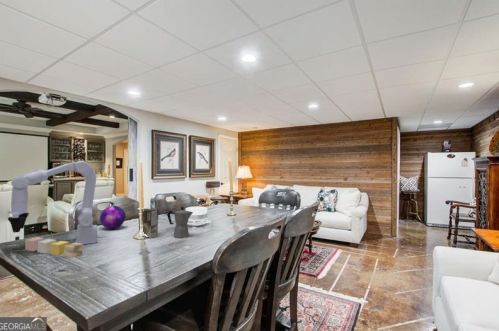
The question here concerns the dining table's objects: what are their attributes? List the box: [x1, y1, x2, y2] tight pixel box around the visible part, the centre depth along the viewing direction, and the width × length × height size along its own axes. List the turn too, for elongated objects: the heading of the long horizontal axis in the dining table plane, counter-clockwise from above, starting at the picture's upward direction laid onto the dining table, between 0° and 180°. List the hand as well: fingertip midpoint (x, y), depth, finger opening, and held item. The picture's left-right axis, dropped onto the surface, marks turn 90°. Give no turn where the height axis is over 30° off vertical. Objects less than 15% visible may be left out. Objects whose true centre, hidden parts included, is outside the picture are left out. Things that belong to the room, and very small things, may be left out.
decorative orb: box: [99, 205, 127, 230], centre depth 166 cm, size 15×15×15 cm
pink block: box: [24, 236, 45, 252], centre depth 122 cm, size 5×5×5 cm
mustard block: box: [49, 240, 70, 256], centre depth 118 cm, size 5×5×5 cm
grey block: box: [36, 238, 58, 254], centre depth 120 cm, size 5×5×5 cm
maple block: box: [63, 242, 84, 259], centre depth 116 cm, size 5×5×5 cm
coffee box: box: [138, 208, 159, 239], centre depth 151 cm, size 9×6×16 cm
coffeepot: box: [166, 206, 194, 239], centre depth 153 cm, size 15×9×18 cm, turn 103°
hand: (18, 230), depth 118 cm, fingers open, 7 cm apart
